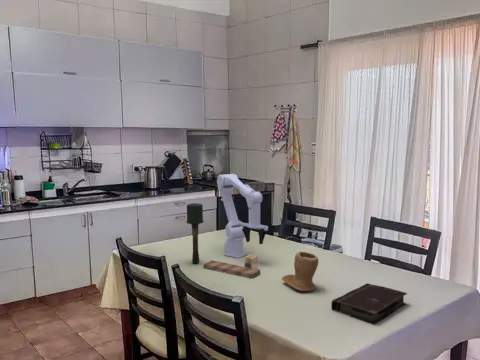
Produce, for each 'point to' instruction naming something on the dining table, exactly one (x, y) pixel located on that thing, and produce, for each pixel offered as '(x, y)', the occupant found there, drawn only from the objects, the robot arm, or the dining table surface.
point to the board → (232, 269)
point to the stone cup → (303, 272)
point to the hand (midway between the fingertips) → (254, 242)
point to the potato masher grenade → (195, 226)
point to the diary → (369, 303)
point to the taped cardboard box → (251, 261)
